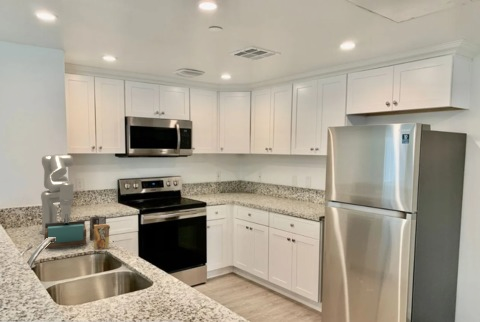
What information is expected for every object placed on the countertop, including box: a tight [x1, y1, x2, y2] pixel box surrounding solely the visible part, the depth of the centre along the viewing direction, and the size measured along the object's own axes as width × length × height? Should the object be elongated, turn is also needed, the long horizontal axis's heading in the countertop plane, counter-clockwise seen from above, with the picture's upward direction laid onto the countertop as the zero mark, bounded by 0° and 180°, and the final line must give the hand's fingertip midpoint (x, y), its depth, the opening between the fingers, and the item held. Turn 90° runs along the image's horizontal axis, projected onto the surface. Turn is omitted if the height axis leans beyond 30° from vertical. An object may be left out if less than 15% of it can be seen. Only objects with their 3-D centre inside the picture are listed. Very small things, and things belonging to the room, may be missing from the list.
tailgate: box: [48, 224, 84, 243], centre depth 215 cm, size 1×20×14 cm
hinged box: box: [43, 220, 87, 250], centre depth 225 cm, size 16×24×13 cm, turn 118°
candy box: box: [93, 223, 110, 250], centre depth 216 cm, size 9×4×15 cm, turn 116°
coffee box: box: [89, 215, 107, 241], centre depth 235 cm, size 9×6×16 cm
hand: (65, 230), depth 215 cm, fingers closed
